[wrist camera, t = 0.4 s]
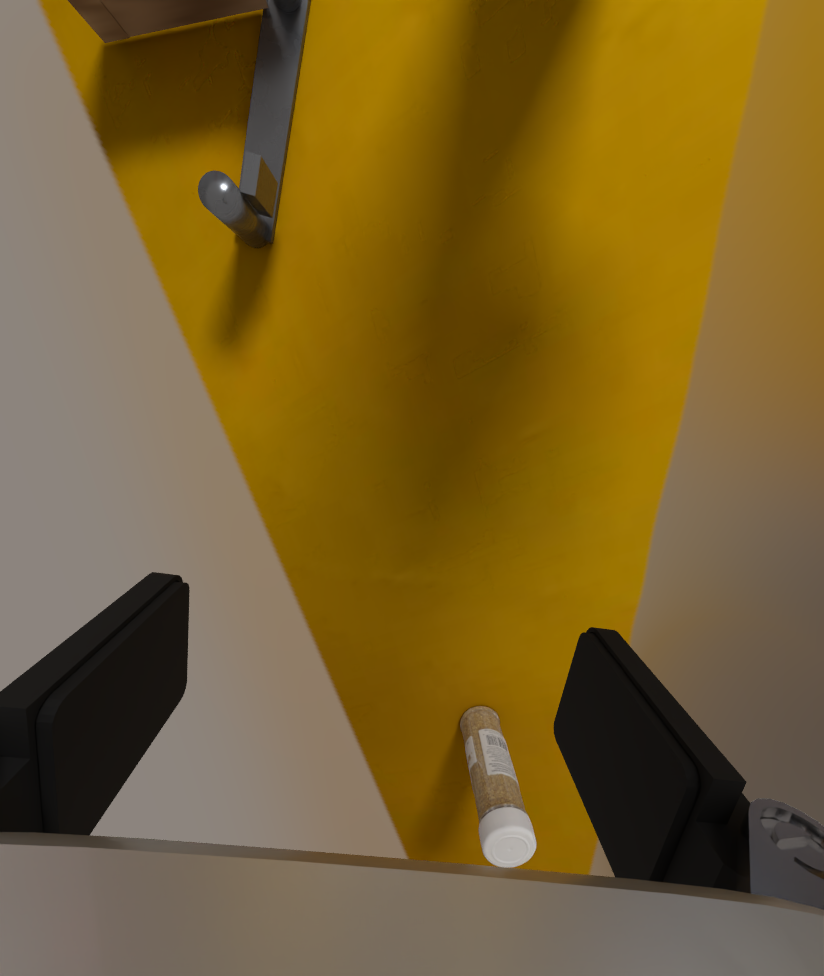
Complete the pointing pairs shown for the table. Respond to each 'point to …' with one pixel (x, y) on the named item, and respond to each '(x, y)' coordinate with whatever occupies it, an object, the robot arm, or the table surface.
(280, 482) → the table surface
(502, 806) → the sprinkles bottle
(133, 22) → the gate
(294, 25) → the gate posts
